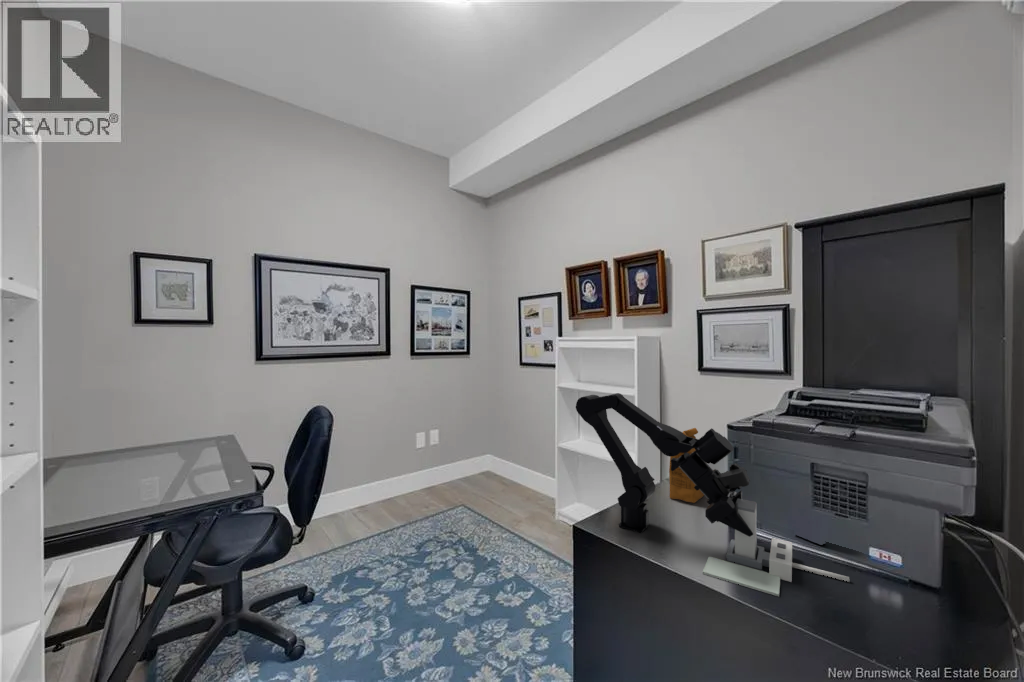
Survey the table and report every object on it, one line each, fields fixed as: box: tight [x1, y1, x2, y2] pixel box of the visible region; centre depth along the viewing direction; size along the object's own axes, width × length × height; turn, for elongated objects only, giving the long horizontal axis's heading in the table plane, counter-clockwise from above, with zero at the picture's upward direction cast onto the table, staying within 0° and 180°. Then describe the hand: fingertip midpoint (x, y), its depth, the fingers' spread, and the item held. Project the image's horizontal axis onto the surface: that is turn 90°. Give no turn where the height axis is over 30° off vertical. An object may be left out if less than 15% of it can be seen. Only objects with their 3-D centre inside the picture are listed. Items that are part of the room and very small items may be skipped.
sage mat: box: [702, 556, 781, 598], centre depth 89 cm, size 14×8×1 cm, turn 55°
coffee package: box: [668, 427, 705, 504], centre depth 133 cm, size 10×12×22 cm
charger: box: [734, 498, 758, 560], centre depth 97 cm, size 4×6×12 cm
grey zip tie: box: [726, 537, 850, 583], centre depth 92 cm, size 22×12×4 cm, turn 55°
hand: (752, 530), depth 96 cm, fingers closed on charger, 5 cm apart
